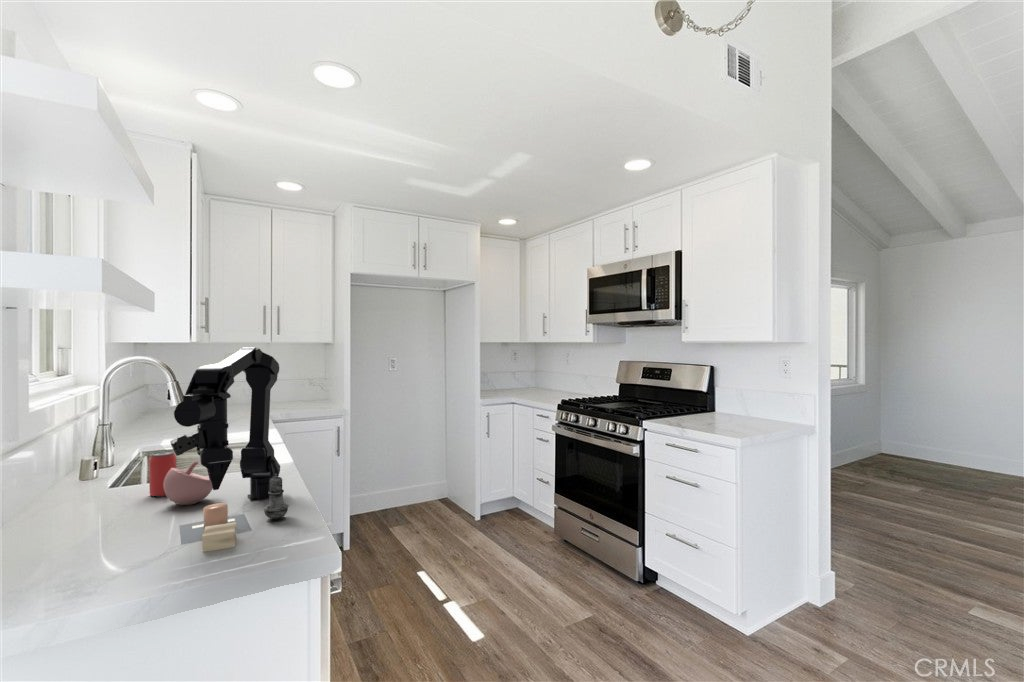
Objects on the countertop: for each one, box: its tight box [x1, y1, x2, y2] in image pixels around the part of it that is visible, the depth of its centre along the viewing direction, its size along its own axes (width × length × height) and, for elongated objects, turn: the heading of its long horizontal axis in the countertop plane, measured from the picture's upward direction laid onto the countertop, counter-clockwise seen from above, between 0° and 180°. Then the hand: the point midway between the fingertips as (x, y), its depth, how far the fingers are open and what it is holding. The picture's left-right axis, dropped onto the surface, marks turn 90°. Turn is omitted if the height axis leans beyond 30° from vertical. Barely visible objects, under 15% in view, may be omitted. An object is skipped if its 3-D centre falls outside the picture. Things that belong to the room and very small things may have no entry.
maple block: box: [201, 522, 237, 553], centre depth 112 cm, size 6×6×4 cm
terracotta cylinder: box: [202, 502, 229, 529], centre depth 122 cm, size 5×5×5 cm
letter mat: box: [179, 513, 253, 546], centre depth 122 cm, size 14×14×1 cm
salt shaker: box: [263, 474, 290, 524], centre depth 127 cm, size 6×6×12 cm
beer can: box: [148, 450, 178, 497], centre depth 150 cm, size 7×7×12 cm
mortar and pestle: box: [163, 460, 213, 506], centre depth 141 cm, size 12×12×12 cm
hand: (214, 485), depth 121 cm, fingers open, 9 cm apart
